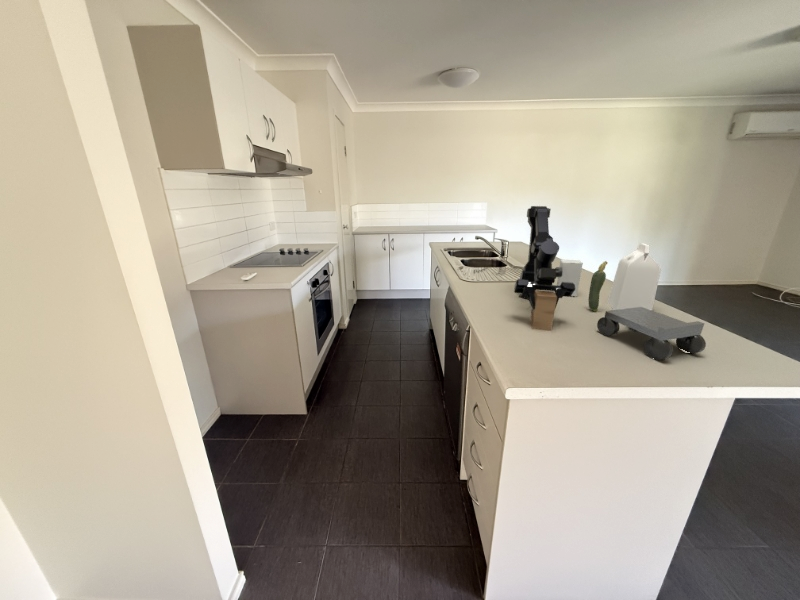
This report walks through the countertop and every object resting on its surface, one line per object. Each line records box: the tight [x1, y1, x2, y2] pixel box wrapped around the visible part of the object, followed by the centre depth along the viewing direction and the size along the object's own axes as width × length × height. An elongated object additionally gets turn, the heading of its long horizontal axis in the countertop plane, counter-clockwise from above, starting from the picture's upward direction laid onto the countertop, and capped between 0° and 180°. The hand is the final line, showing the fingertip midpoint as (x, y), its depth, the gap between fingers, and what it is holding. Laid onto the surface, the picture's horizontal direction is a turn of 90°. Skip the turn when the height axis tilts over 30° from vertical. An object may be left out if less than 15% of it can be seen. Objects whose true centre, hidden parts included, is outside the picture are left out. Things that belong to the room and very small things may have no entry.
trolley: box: [596, 307, 707, 361], centre depth 96 cm, size 22×15×10 cm
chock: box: [529, 290, 557, 331], centre depth 108 cm, size 6×6×12 cm
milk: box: [607, 242, 662, 311], centre depth 121 cm, size 12×12×26 cm
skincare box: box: [556, 259, 584, 297], centre depth 141 cm, size 8×7×16 cm
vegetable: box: [587, 260, 608, 313], centre depth 121 cm, size 4×4×20 cm
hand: (543, 309), depth 106 cm, fingers closed on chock, 6 cm apart
